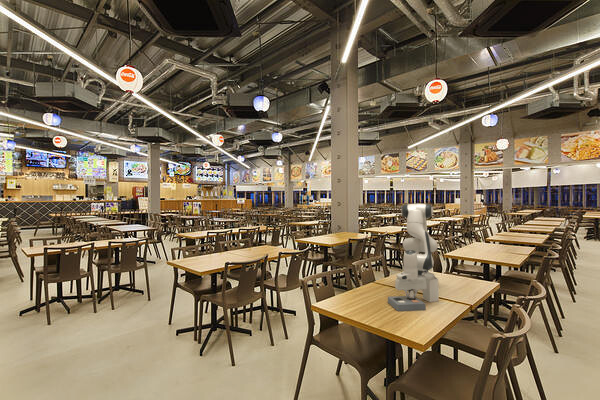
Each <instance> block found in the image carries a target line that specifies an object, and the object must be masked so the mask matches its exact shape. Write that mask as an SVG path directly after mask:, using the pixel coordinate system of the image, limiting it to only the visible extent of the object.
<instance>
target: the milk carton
mask: <svg viewBox="0 0 600 400" xmlns="http://www.w3.org/2000/svg"><path fill="white" fill-rule="evenodd" d="M424 276H425V277H426V286H427V288H426V289H422V300H425V301H426V302H429V303H434V302H435V303H436V302H439V301H440V300H439V299H440V298H439V296H440V295H439V278H438V277H436V275H435V273H433V272H429V271H428V272H427V273H426V274H425V275H424Z"/></svg>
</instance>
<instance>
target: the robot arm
mask: <svg viewBox="0 0 600 400" xmlns="http://www.w3.org/2000/svg"><path fill="white" fill-rule="evenodd" d="M433 214H434V208H433V206H432V204H431V203H430V204H429V203H409V204H408V203H405V204H404V205H402V207H401V215H402V216H403V217H404V218H406V232H407V233H408V234H409V235H410V236H412V237H407V238H405V239H404V240H403V241H402V248H403V249H404V253H403V259H402V264H403V271H402V272H399V273H397V274H396V278H395V282H394V284H395V285H394V288H395V290H397V291H403V292H404V293H405V296H407V297H409V294H408V290H411V289H413V290H414V296H415V297H417V294H418V292H419V290H423V289H426V288H427V286H426V277H425V276H424V275H425V274H426V273H427V272H429V271H430V270H431V269H433V268H434V264H435V261H434V258H433V254H432V253H434V252H437V249H438V242H437V240H435V239H434V238H433V237H432V236H431V235H430V234H429V232H428V226H427V222H428V221H427V219H430V218H431V217H433ZM420 253H424V254H420Z"/></svg>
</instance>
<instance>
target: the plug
mask: <svg viewBox="0 0 600 400" xmlns="http://www.w3.org/2000/svg"><path fill="white" fill-rule="evenodd" d="M414 292H415V290H413V289H411V290H408V292H407V293H408V294H409V297H408V300H414Z"/></svg>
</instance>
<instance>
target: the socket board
mask: <svg viewBox="0 0 600 400" xmlns="http://www.w3.org/2000/svg"><path fill="white" fill-rule="evenodd" d="M387 303H388V304H389V305H390V306H391V307H393V309H395V311H397V312H413V311H426V309H427V308H426V305H427V304H426V303H425V302H424V301H422V300H421V299H419V298H418V297H417V296H414V300H408V297H407V296H406V295H398V296H397V295H392V296H387Z"/></svg>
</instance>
